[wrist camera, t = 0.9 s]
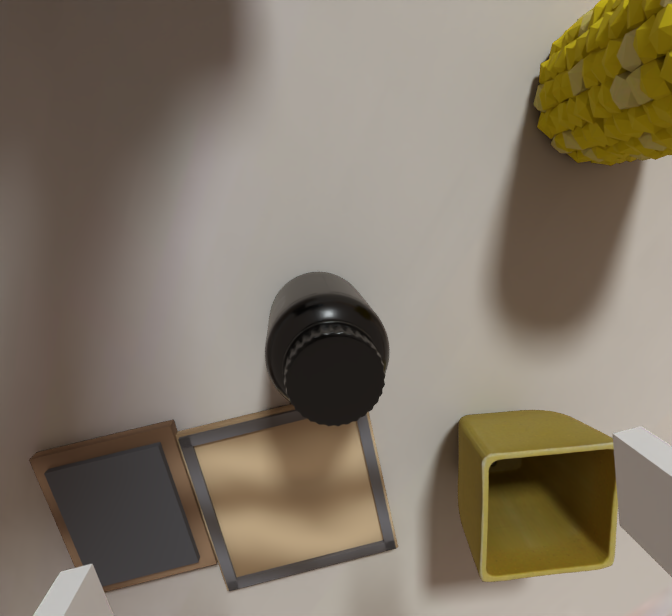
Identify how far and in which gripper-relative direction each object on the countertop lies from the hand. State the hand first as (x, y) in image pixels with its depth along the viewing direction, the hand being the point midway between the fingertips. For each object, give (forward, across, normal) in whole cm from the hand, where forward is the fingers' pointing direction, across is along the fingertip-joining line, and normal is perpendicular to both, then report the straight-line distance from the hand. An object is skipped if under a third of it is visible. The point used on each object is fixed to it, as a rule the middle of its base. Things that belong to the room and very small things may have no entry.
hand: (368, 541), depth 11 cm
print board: (+22, -5, -13) cm, 26 cm away
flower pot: (+22, +11, -13) cm, 28 cm away
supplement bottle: (+22, 0, 0) cm, 22 cm away
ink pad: (+22, -17, -11) cm, 30 cm away
